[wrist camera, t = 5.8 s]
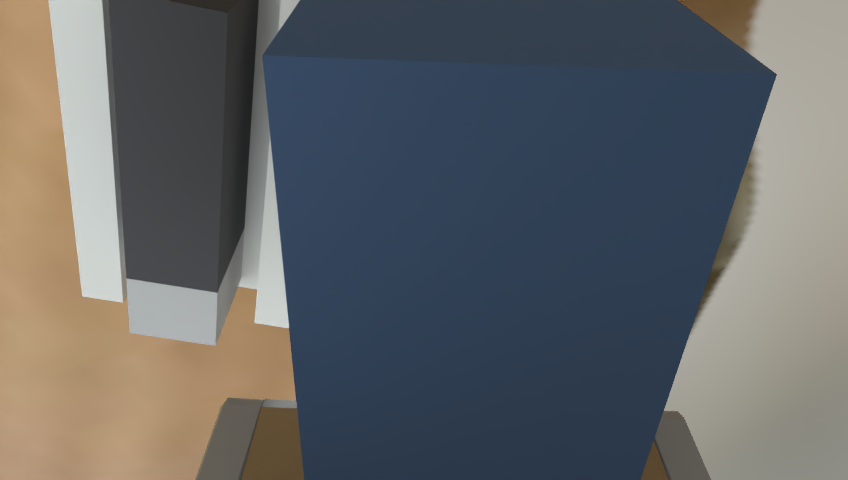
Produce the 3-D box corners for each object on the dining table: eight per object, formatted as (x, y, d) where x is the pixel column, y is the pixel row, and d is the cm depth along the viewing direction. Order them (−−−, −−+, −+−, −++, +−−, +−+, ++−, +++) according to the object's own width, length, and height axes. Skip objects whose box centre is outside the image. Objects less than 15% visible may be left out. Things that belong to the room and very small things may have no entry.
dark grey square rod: (160, -46, 20) (107, -12, 17) (260, -24, 20) (227, 13, 17) (166, 265, 27) (129, 332, 23) (241, 277, 27) (215, 345, 24)
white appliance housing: (88, -87, 20) (37, -68, 18) (583, 21, 22) (604, 52, 19) (113, 250, 27) (80, 299, 25) (484, 310, 29) (490, 362, 27)
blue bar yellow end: (339, -58, 7) (261, 56, 4) (613, -48, 7) (776, 74, 4) (359, 567, 14) (337, 812, 10) (502, 571, 14) (527, 816, 10)
